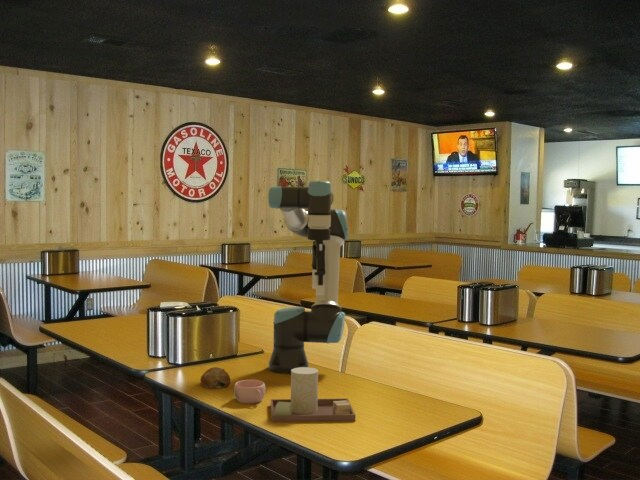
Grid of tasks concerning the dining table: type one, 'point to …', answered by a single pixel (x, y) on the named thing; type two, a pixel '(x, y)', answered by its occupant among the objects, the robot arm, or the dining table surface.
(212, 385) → the bread roll
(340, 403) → the maple block
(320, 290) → the robot arm
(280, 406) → the sage block
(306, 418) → the tray
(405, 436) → the dining table surface
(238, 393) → the mug
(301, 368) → the cup
